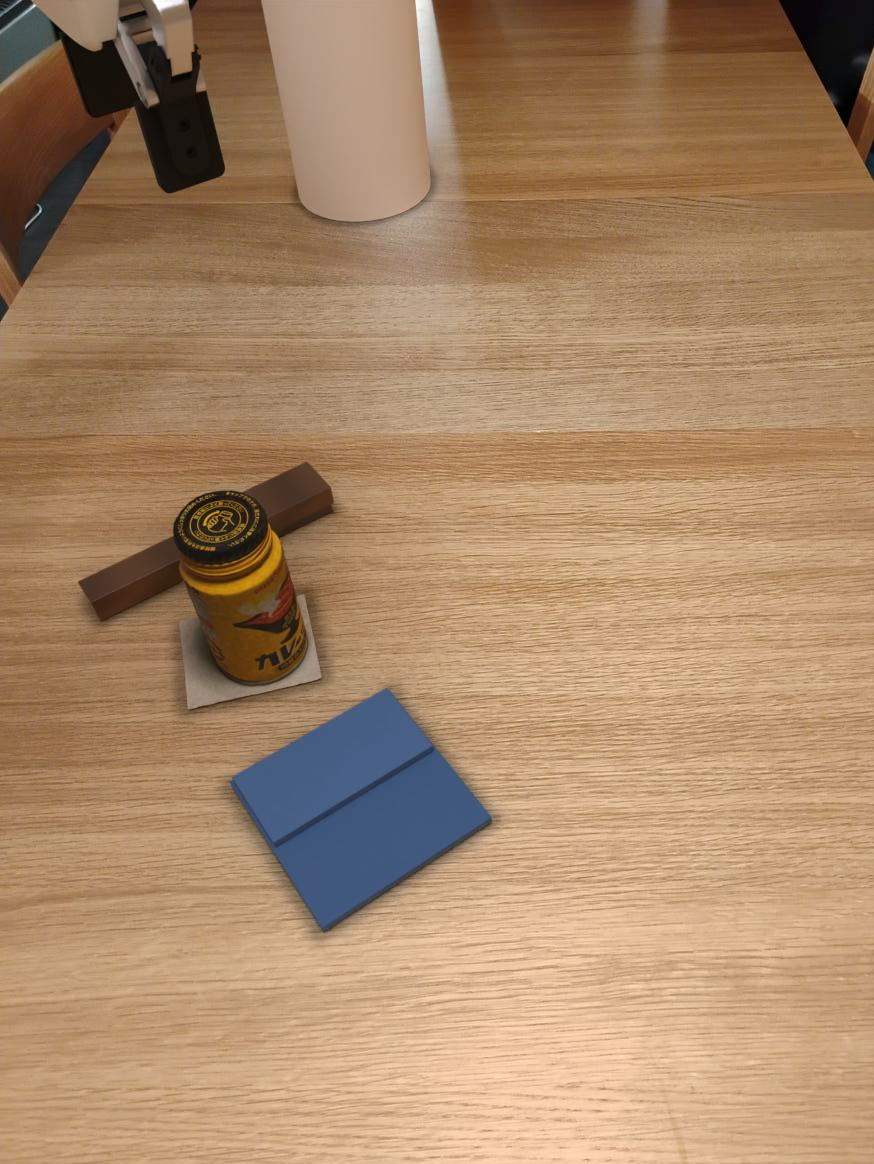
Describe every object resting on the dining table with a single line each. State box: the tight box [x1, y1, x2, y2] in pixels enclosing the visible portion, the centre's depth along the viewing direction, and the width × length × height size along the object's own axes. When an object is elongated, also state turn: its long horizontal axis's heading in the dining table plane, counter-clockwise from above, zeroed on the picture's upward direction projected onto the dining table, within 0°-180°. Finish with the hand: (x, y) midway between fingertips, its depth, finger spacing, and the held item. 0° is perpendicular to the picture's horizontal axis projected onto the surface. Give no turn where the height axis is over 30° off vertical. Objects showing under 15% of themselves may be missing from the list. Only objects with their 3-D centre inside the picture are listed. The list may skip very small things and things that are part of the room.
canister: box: [261, 0, 432, 223], centre depth 94 cm, size 14×14×20 cm
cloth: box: [229, 687, 493, 932], centre depth 57 cm, size 11×11×1 cm
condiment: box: [172, 489, 322, 710], centre depth 60 cm, size 7×8×12 cm
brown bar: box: [77, 461, 335, 622], centre depth 70 cm, size 18×4×2 cm, turn 125°
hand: (153, 143), depth 50 cm, fingers open, 9 cm apart
